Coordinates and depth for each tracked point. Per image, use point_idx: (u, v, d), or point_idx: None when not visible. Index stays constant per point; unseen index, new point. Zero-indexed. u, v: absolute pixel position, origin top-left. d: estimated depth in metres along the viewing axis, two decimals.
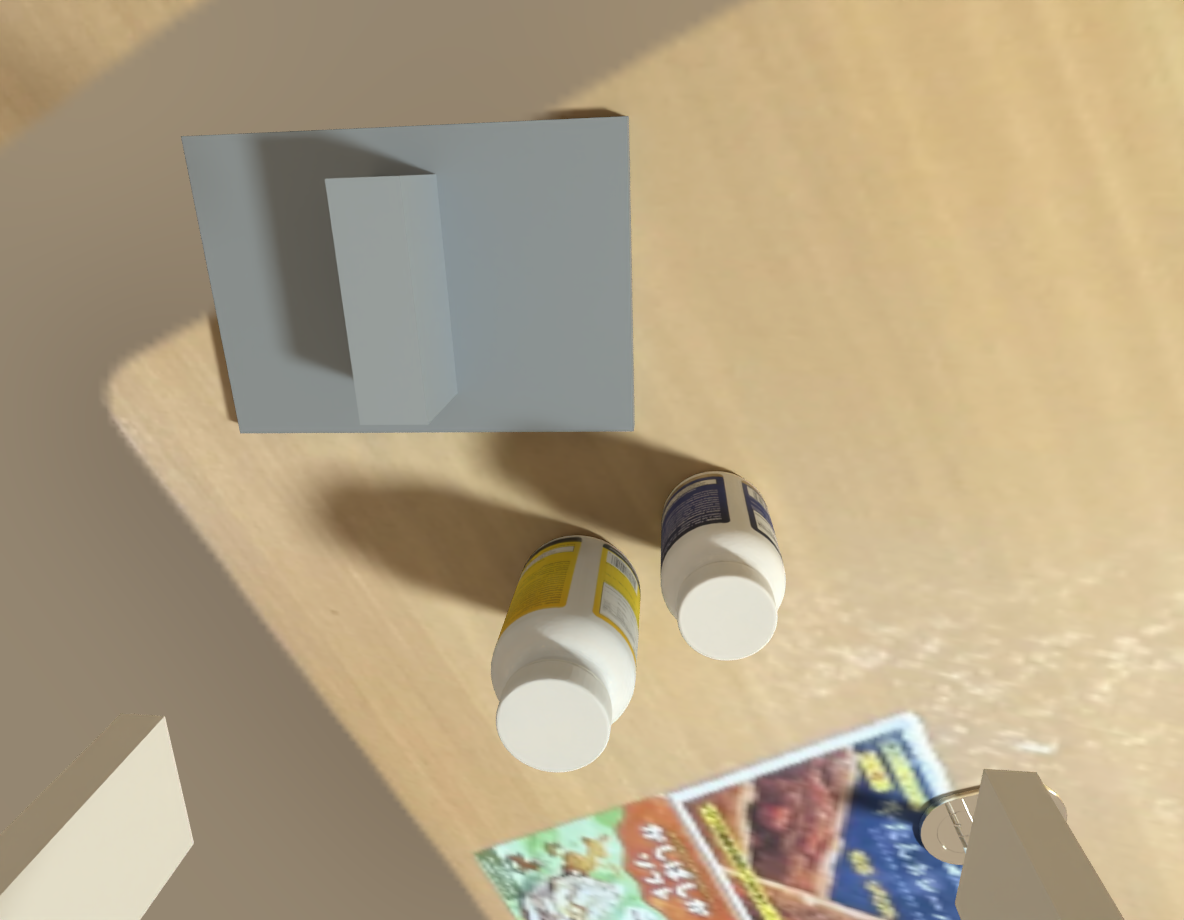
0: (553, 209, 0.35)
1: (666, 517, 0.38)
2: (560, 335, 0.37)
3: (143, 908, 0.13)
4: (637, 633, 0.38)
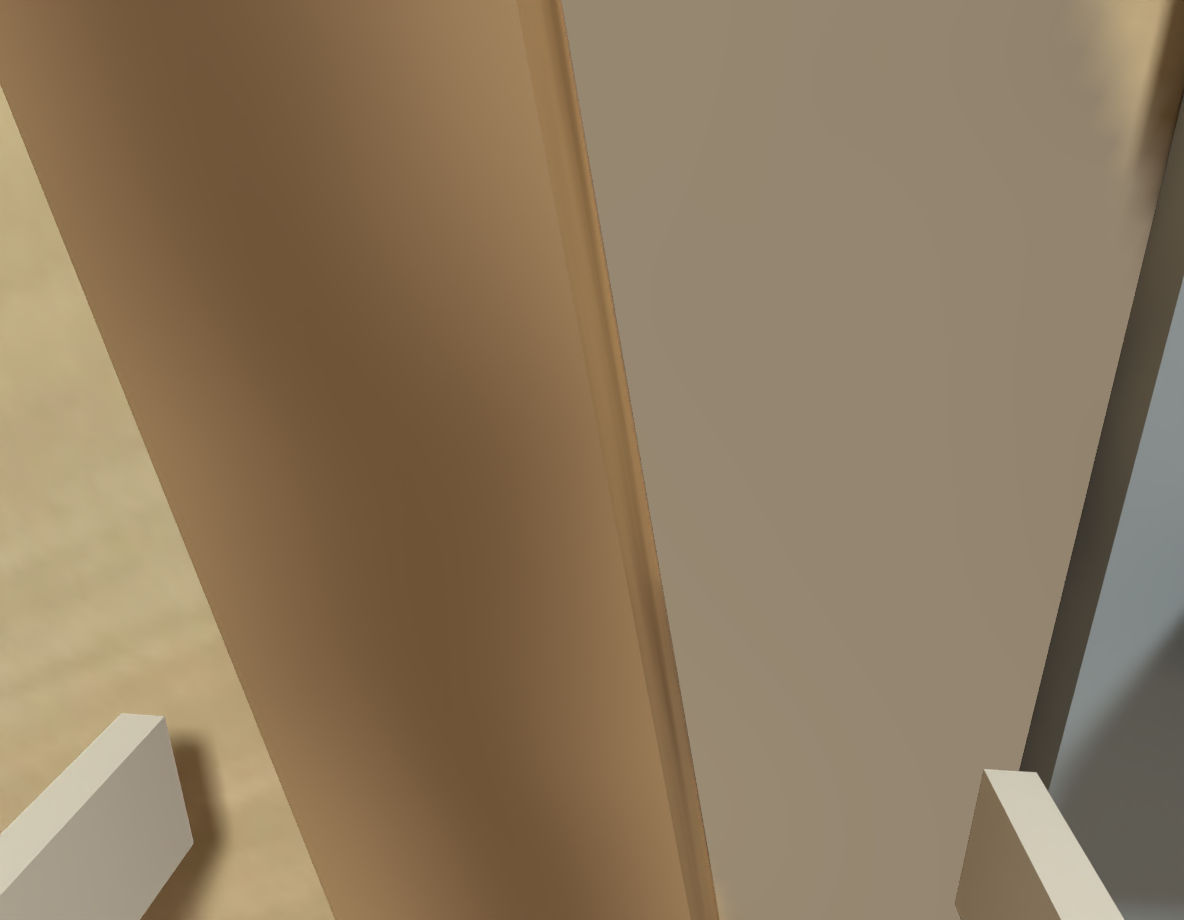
0: None
1: None
2: None
3: (143, 908, 0.13)
4: None
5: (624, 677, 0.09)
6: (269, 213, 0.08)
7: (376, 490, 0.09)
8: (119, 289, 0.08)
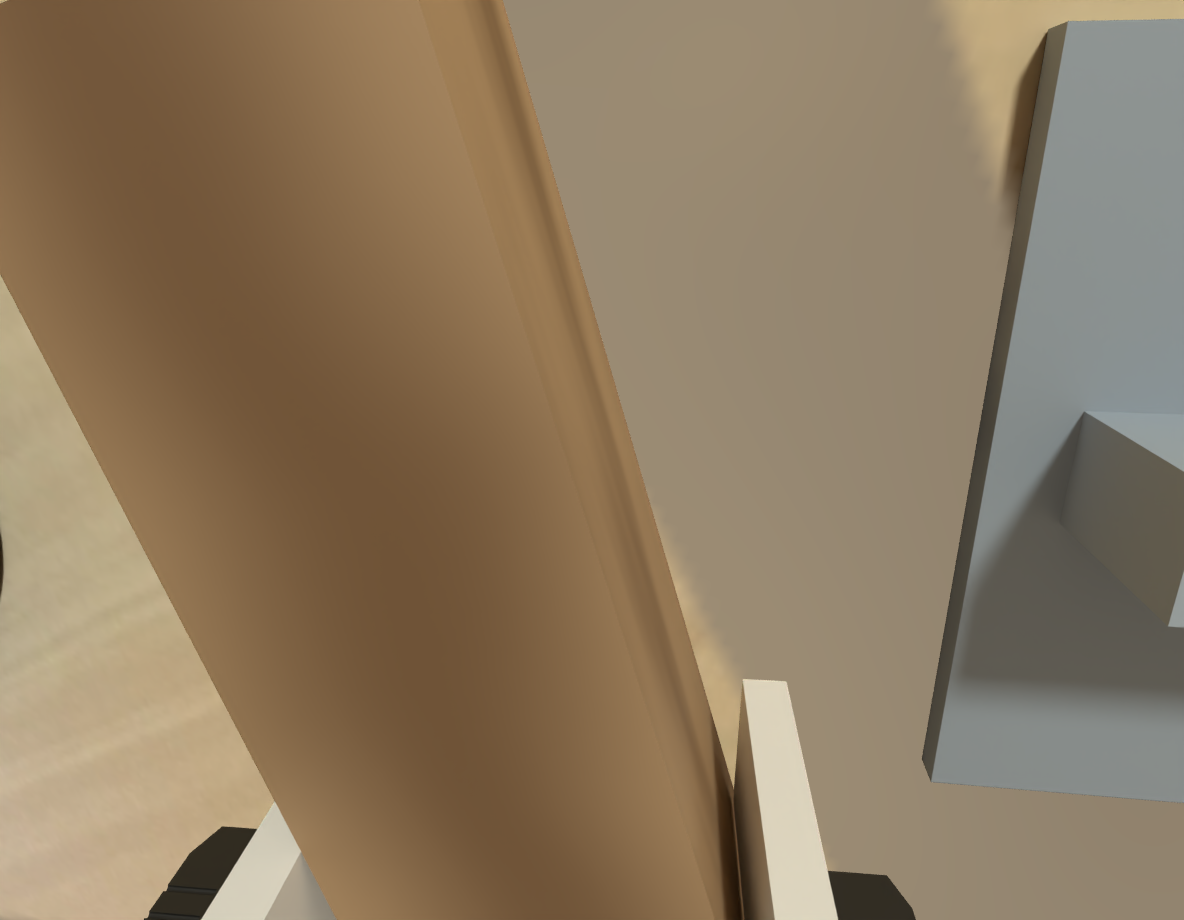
0: None
1: None
2: None
3: None
4: None
5: (624, 707, 0.09)
6: (214, 270, 0.08)
7: (353, 536, 0.09)
8: (80, 360, 0.08)
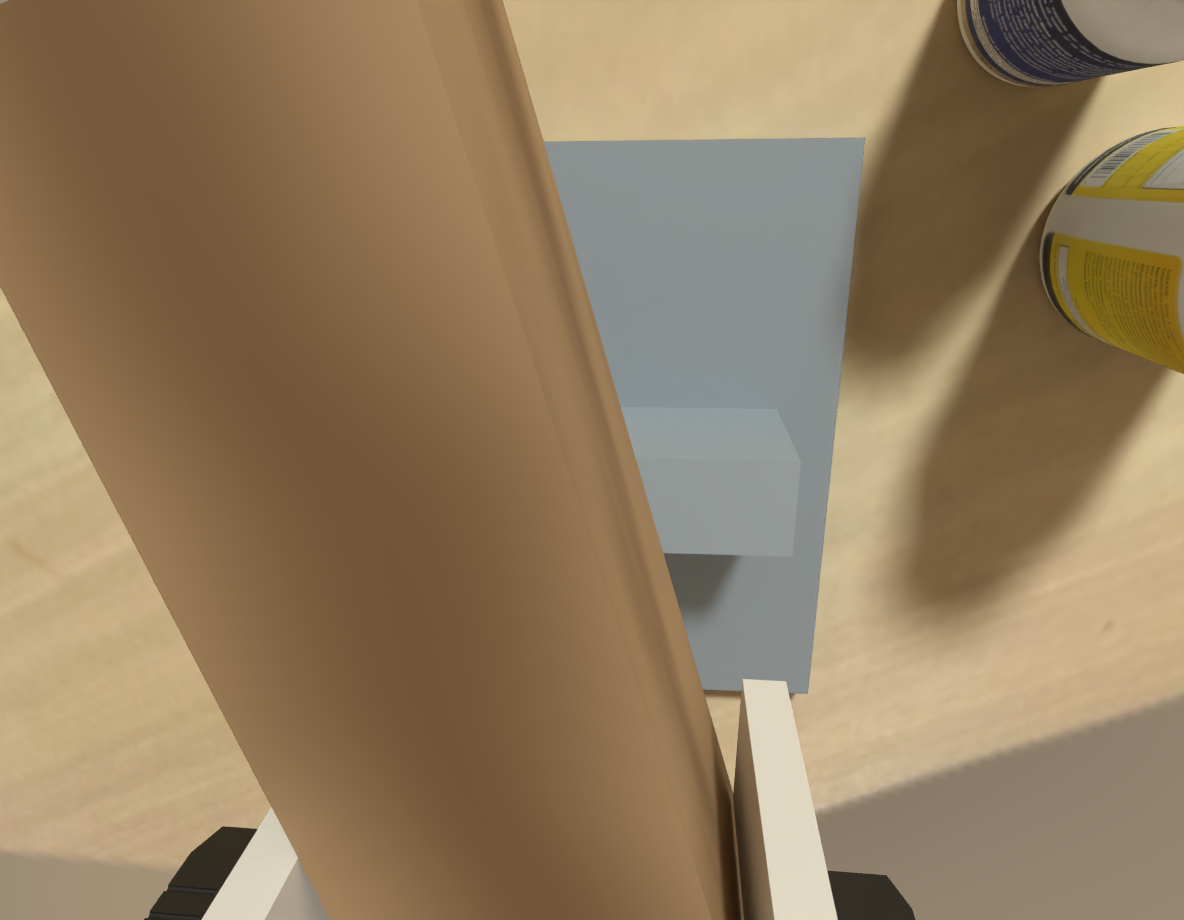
0: None
1: (1030, 70, 0.21)
2: (702, 252, 0.25)
3: None
4: None
5: (624, 714, 0.09)
6: (212, 275, 0.08)
7: (351, 542, 0.09)
8: (78, 365, 0.08)
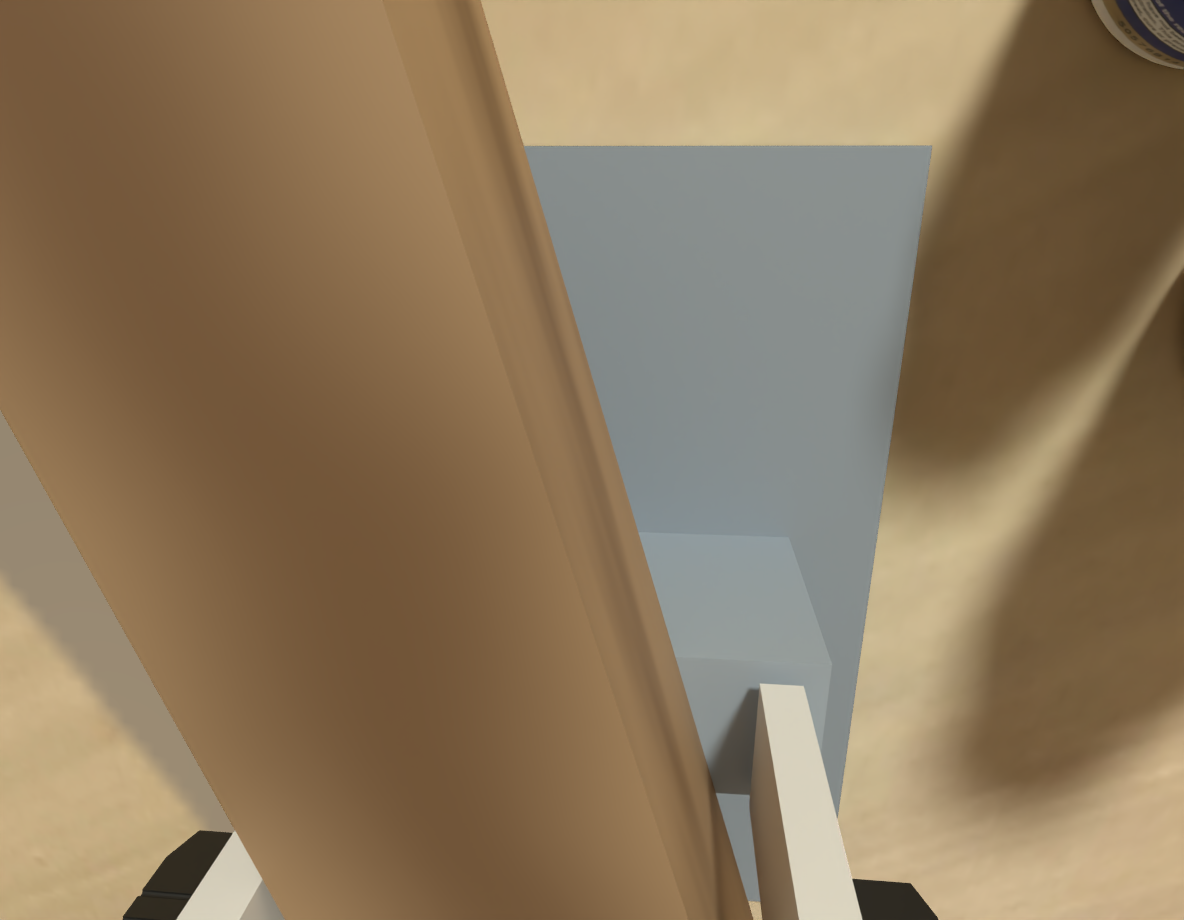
0: None
1: None
2: (680, 314, 0.17)
3: None
4: None
5: (605, 737, 0.09)
6: (162, 279, 0.07)
7: (316, 562, 0.08)
8: (19, 374, 0.08)
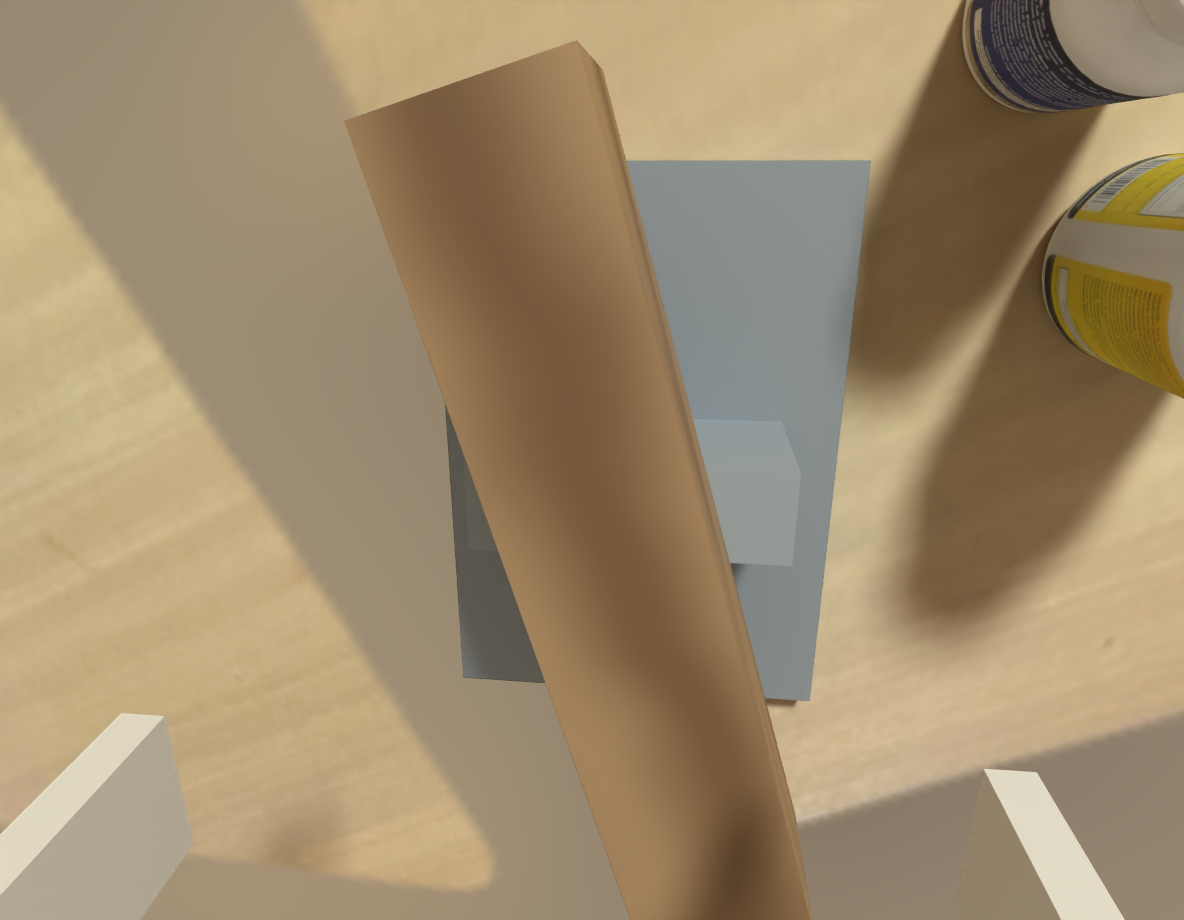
0: None
1: (1032, 99, 0.22)
2: (710, 269, 0.26)
3: (143, 908, 0.13)
4: None
5: (674, 449, 0.18)
6: (486, 222, 0.17)
7: (541, 357, 0.17)
8: (414, 266, 0.17)
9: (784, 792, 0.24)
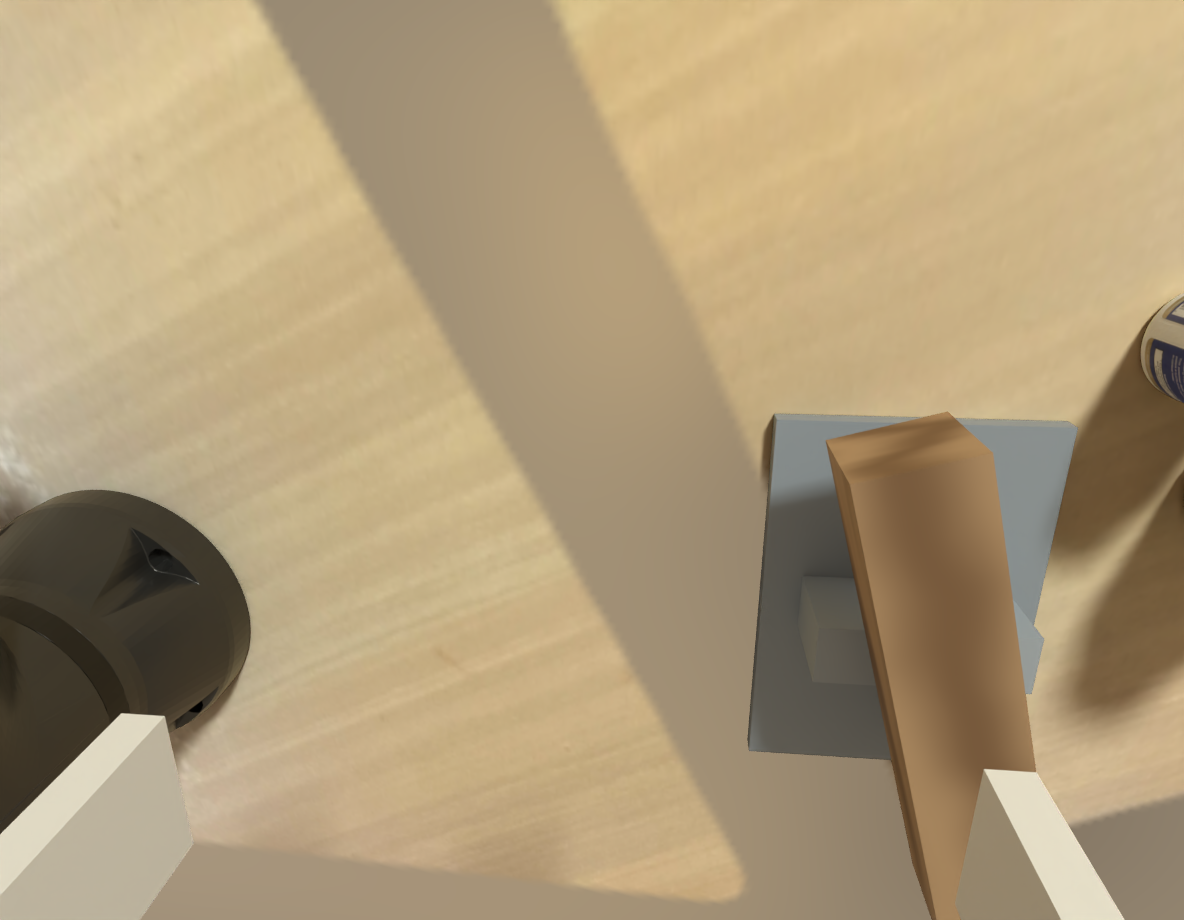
0: None
1: None
2: None
3: (143, 908, 0.13)
4: None
5: (1013, 654, 0.31)
6: (923, 536, 0.30)
7: (941, 604, 0.30)
8: (875, 556, 0.30)
9: None
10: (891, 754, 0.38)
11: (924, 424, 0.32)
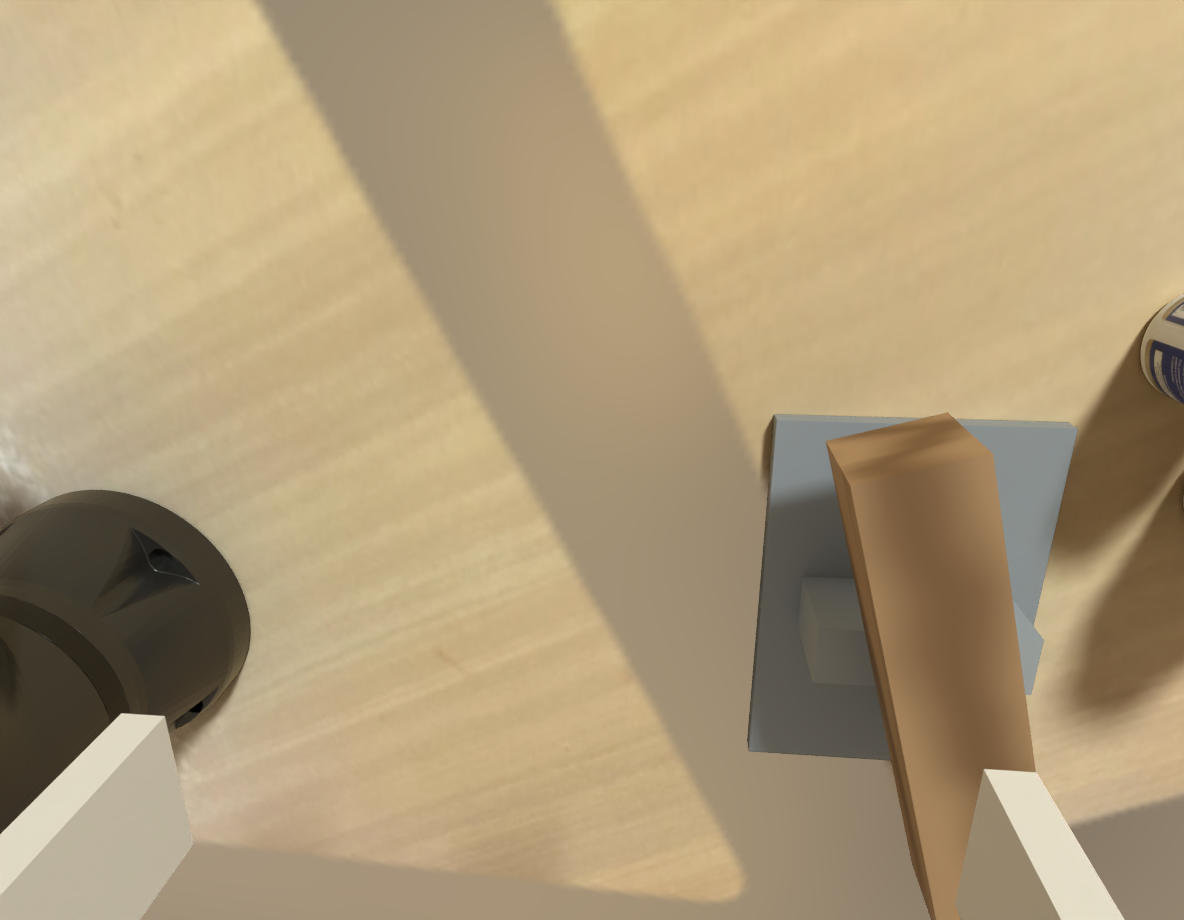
0: None
1: None
2: None
3: (143, 908, 0.13)
4: None
5: (1013, 654, 0.31)
6: (923, 537, 0.30)
7: (941, 605, 0.30)
8: (875, 557, 0.30)
9: None
10: (891, 755, 0.38)
11: (924, 424, 0.32)
